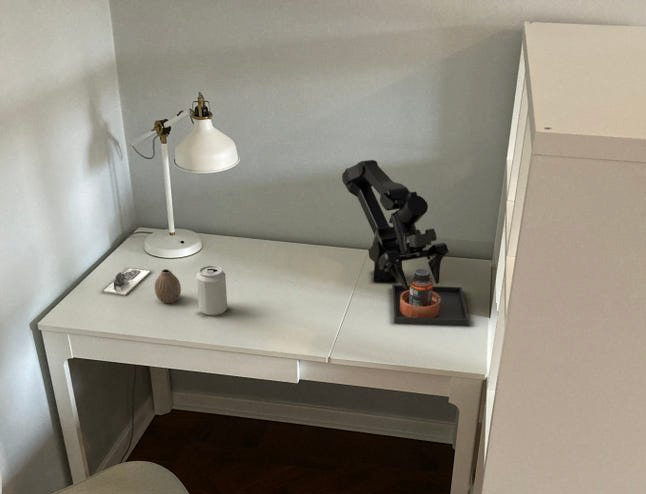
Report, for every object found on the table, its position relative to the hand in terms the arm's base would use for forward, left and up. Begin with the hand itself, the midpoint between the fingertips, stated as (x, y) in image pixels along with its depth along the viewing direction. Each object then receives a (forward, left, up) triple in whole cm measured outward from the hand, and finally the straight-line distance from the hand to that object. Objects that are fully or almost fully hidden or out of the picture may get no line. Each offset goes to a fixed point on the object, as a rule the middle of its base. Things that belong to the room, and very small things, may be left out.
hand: (422, 285), depth 209 cm
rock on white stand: (-82, +12, -8) cm, 84 cm away
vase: (-68, +2, -8) cm, 69 cm away
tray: (+2, +3, -8) cm, 9 cm away
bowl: (0, 0, -8) cm, 8 cm away
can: (-55, -3, -8) cm, 56 cm away
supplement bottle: (0, 0, -8) cm, 8 cm away
